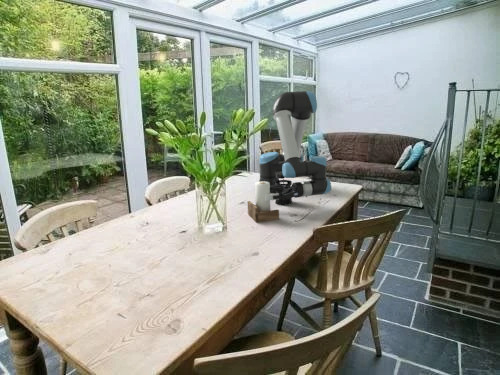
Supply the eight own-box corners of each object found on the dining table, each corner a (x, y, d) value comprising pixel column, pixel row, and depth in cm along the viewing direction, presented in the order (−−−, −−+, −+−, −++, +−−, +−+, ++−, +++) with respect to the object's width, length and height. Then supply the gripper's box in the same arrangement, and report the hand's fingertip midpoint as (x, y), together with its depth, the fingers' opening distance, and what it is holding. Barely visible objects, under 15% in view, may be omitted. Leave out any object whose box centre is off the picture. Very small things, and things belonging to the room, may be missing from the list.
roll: (254, 213, 168) (253, 182, 163) (267, 211, 170) (266, 180, 165) (258, 218, 161) (257, 185, 157) (272, 216, 163) (271, 183, 159)
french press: (296, 202, 185) (296, 161, 180) (285, 206, 179) (284, 164, 173) (280, 198, 194) (280, 159, 188) (269, 202, 188) (268, 161, 182)
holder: (248, 214, 170) (247, 201, 168) (269, 211, 173) (269, 198, 171) (256, 222, 158) (255, 208, 156) (279, 219, 162) (278, 205, 160)
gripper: (312, 203, 158) (270, 209, 152) (290, 190, 181) (253, 195, 175) (312, 187, 156) (269, 193, 150) (290, 176, 179) (252, 181, 173)
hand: (260, 194), depth 162 cm, fingers open, 13 cm apart
